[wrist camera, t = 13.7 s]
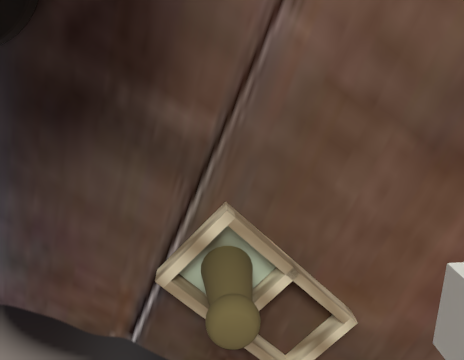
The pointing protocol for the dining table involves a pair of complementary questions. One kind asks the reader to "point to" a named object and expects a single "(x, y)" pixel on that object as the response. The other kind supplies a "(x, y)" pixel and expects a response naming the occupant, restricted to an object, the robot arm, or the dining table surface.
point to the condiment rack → (264, 262)
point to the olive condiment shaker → (230, 297)
